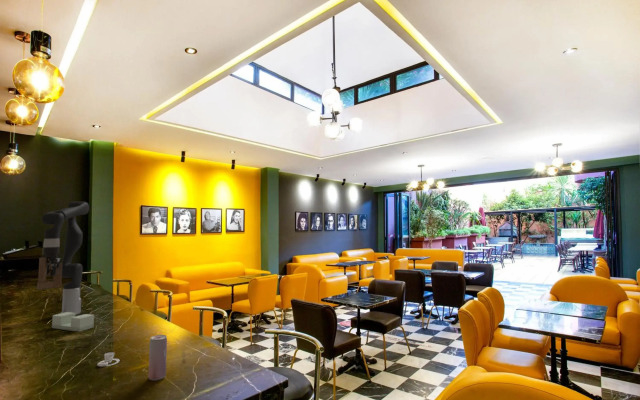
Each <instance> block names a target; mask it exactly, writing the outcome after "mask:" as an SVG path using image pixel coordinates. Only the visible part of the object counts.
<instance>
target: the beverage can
mask: <svg viewBox="0 0 640 400" xmlns="http://www.w3.org/2000/svg"><path fill="white" fill-rule="evenodd" d="M167 349H168V339H167V335H164V334H159V335H158V334H156V335H153V336H151V337H150V340H149V350H148V351H149V354H148V356H149V357H148V358H149V359H148V379H149V380H150V381H154V382H155V381H159V380H162V379H164V378H166V376H167V353H168V352H167V351H168V350H167Z"/></svg>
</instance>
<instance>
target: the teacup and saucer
mask: <svg viewBox="0 0 640 400" xmlns="http://www.w3.org/2000/svg"><path fill="white" fill-rule="evenodd" d="M114 357H115V352H113V351H109V352H105V353H104V359H103V360H102V361H99V362H98V363H97V367H109V366H113V365H116V364H118V363H119V362H120V359H119V358H114ZM113 361H116V362H114V363H112V362H113Z"/></svg>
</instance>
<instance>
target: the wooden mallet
mask: <svg viewBox="0 0 640 400" xmlns="http://www.w3.org/2000/svg"><path fill="white" fill-rule="evenodd" d="M46 274H47V257H45V256H44V257H39V261H38V277H37V278H38V279H37V284H36V290H47V289H48V290H49V289H56V288H61V287H62V278H63V277H62V262H60V265H59V268H57V269H56V274H55V276H51V270H50V272H49V273H48V274H47V275H46ZM47 277H52V281H51V280H50V281H47Z"/></svg>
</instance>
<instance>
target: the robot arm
mask: <svg viewBox="0 0 640 400" xmlns="http://www.w3.org/2000/svg"><path fill="white" fill-rule="evenodd" d="M89 212H90V205H89V203H88V202H86V201H76V200H75V201H70V202H69V203H68V205H67V207H66V208H65V207H64V208H60V209H57V210H55V211H54V210H53V211H47V212H45V213H43V215H42V216H41V222H42V223H43V224H44V225H53V226H52V227H51V228H46V229H45V230H44V239H43V246H42V247H43V248H42V255H44V257H47V274H48V273H49V272H50V271H51V276H50V277H53V276H55V274H56V269H57V268H59V265H60V263H62V278H63V279H64V278H65V279H68V278H70V279H71V278H72V279H71V281H69V282H67V283H64V284H63V289H62V290H63V291H62V305H61V313H65V312H72V313H76V314H75V316H77V315H79V314H81V313H82V311H81V310H82V309H81V308H82V298H81V286H82V285H81V284H82V279H83V268H84V267H83V265H82V264H81V263H72V260H73V256H74V255H75V254H76V252H77V251H79V249H80V248H81V246H82V244H83V238H84V236H83V234H84V233H83V231H82V230H81V228H80V226H79V225H78V223H77V220H76V219H77V218H76V217H77V216H84V215H87V214H88V213H89ZM66 220H67V225H66V233H65V242H64V251H63V252H64V253H63V257H62V258H63V259H62V258H61V257H58V255H59V254H60V244H61V243H60V242H61V241H60V239H61V238H60V236H61V230H62V228H63V227H62V226H63V224H64V222H65V221H66ZM61 259H62V262H61ZM47 274H46V275H47Z"/></svg>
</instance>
